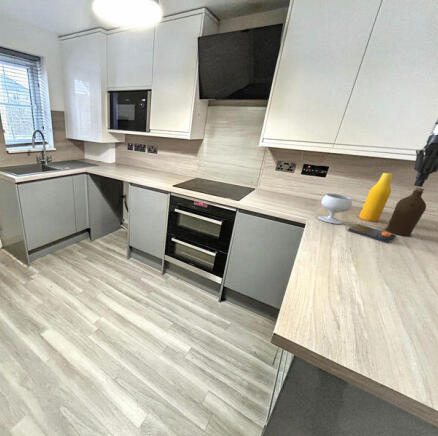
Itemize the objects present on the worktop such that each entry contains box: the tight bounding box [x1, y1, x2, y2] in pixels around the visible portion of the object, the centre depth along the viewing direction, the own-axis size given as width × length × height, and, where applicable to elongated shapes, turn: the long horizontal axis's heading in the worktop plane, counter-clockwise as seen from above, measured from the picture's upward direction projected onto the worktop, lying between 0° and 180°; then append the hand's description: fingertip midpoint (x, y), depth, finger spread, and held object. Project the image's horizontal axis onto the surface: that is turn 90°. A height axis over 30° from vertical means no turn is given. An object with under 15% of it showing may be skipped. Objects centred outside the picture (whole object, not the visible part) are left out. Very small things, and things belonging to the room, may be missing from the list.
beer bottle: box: [358, 172, 394, 223], centre depth 143 cm, size 9×9×29 cm
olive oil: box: [385, 187, 427, 237], centre depth 125 cm, size 11×11×25 cm
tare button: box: [382, 231, 392, 237], centre depth 117 cm, size 3×3×2 cm
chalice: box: [317, 193, 353, 225], centre depth 139 cm, size 14×14×15 cm
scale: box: [347, 223, 397, 244], centre depth 124 cm, size 17×14×3 cm
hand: (417, 186), depth 115 cm, fingers closed
